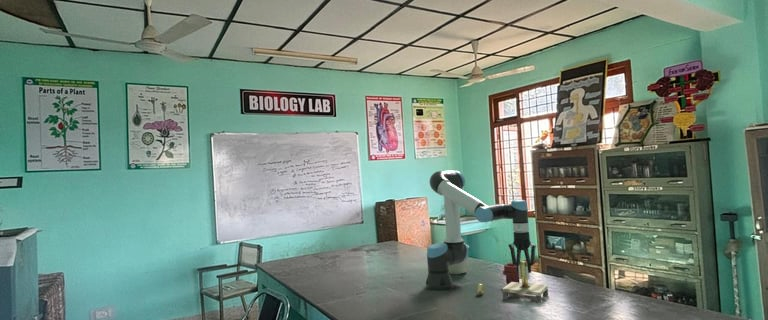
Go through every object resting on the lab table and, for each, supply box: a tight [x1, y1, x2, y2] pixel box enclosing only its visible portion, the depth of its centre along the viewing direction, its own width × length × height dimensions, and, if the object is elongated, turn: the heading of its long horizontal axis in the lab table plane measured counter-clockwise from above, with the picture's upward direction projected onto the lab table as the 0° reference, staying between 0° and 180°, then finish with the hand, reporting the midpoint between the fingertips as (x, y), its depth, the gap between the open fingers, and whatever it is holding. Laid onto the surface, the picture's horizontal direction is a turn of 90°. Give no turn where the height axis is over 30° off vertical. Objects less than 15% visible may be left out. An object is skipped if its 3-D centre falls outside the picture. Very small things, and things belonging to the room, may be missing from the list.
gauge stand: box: [501, 282, 549, 304], centre depth 211 cm, size 18×14×5 cm
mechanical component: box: [502, 262, 521, 286], centre depth 232 cm, size 12×10×10 cm
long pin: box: [520, 260, 529, 287], centre depth 211 cm, size 3×3×12 cm
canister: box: [449, 243, 470, 275], centre depth 270 cm, size 18×18×21 cm
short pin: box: [476, 283, 484, 296], centre depth 220 cm, size 3×3×5 cm
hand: (524, 278), depth 211 cm, fingers closed on long pin, 3 cm apart
